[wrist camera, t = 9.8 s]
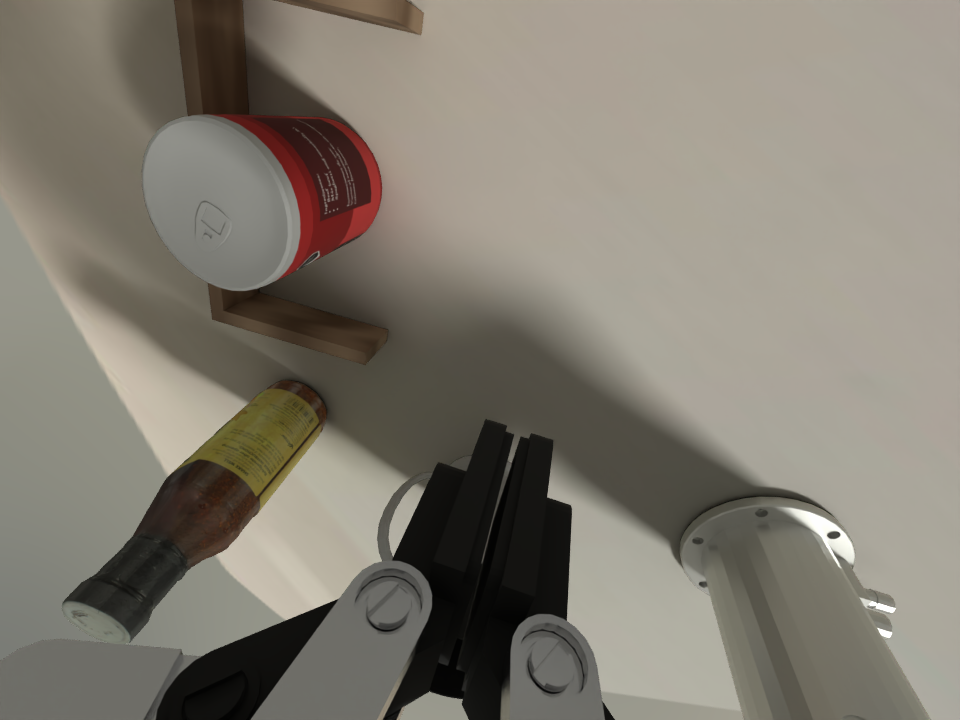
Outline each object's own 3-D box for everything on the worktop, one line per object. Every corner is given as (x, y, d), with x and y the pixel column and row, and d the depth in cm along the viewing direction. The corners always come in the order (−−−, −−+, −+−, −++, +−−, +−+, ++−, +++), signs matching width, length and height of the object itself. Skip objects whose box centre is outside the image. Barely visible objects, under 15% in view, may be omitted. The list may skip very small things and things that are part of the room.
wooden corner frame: (423, 13, 24) (397, -6, 20) (386, 340, 34) (365, 365, 31) (224, -34, 25) (166, -59, 21) (248, 300, 35) (212, 319, 32)
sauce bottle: (262, 371, 39) (10, 567, 22) (327, 382, 38) (118, 596, 21) (274, 429, 42) (63, 640, 25) (334, 441, 41) (158, 668, 24)
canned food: (272, 214, 31) (139, 253, 22) (289, 94, 27) (136, 79, 18) (368, 260, 32) (278, 318, 22) (400, 148, 28) (307, 161, 18)
